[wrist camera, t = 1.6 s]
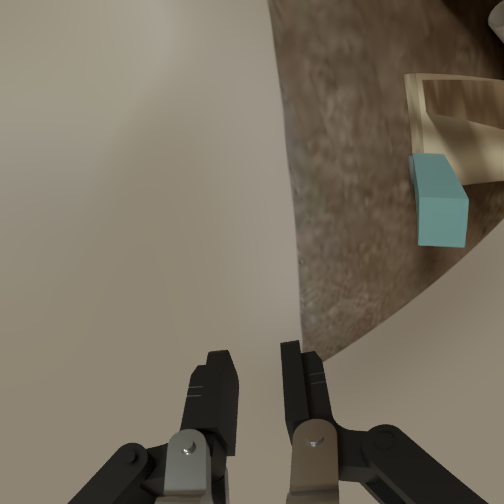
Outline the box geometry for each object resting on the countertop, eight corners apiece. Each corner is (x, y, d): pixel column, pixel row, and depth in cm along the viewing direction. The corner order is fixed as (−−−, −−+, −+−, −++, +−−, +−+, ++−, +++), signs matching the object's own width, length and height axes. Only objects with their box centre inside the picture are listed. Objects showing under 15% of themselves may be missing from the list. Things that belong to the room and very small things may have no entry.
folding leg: (408, 152, 29) (412, 197, 18) (443, 153, 27) (468, 199, 17) (409, 184, 31) (411, 245, 20) (443, 185, 29) (464, 247, 18)
